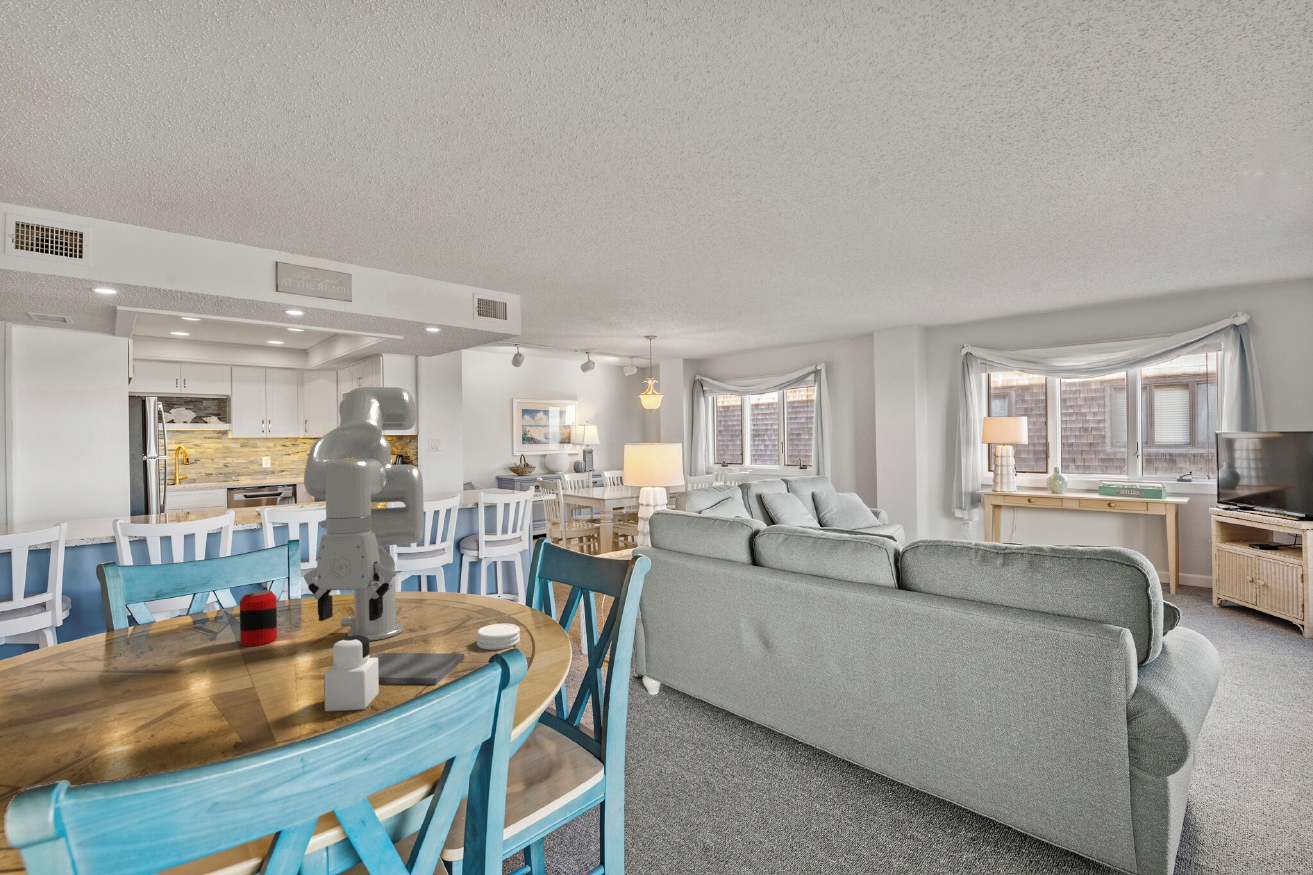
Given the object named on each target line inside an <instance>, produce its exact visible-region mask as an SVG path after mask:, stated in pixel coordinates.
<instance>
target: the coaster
mask: <svg viewBox="0 0 1313 875" xmlns="http://www.w3.org/2000/svg"><path fill="white" fill-rule="evenodd" d="M520 631H521V630H520V626H518V625H516V624H514V623H505V622H504V623H495V624H494V623H493V624H488V625H485V626H483V627H480V628H479V629H478V630H477V631H476V646H477V647H478V648H480V649H483V650H486V651H487V650H488V651H489V650H490V651H495V650H496V651H499V650H504V649H509V648H512V647H514V646H513V645H515V646H516V645H519V644H518V643H520V640H521V637H520V635H521V633H520Z"/></svg>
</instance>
